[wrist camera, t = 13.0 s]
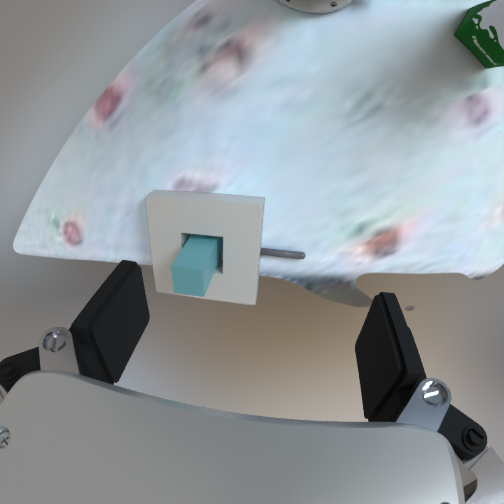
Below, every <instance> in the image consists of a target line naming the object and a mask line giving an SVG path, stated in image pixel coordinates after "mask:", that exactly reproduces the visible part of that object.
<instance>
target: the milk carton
mask: <svg viewBox="0 0 504 504" xmlns="http://www.w3.org/2000/svg"><path fill="white" fill-rule="evenodd" d="M454 35H455V36H456V37H457V38H458V39H459V40H460V41H461V42H462V43H463V44H464V45H465V46H466V47H467V48H468V49H469V50H470V51H471V52H472V53H473V54H474V56H475V57H476V58H477V59H478V60H479V61H480V62H481V63H482V64H483V65H484V67H485V68H486V69H487V68H493V67H500V66H504V0H490V1H487V2H484V3H481V4H478V5H476V6H474V7H472V8H470V9H469V11H468V12H467V14H466V16H465V17H464V19H463V21H462V23H461V24H460V26H459V28H458V29H457V31H456V33H455V34H454Z"/></svg>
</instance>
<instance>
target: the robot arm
mask: <svg viewBox="0 0 504 504" xmlns="http://www.w3.org/2000/svg"><path fill="white" fill-rule="evenodd" d="M278 1H279V2H280V3H282V4H284V5H286V6H288V7H290V8H292V9H295V10H298V11H301V12H307V13H317V14H321V13H330V12H334V11H338V10H340V9H343V8H345V7H346V6H348V5H349V4H351V3H352V2H353V0H290V2H287V1H286V0H278ZM331 5H334V6H335V7H332V6H331ZM149 317H150V316H149V310H148V305H147V300H146V294H145V289H144V283H143V277H142V271H141V267H140V266H138V265H137V263H136V262H134V261H128V260H122V261H121V262H120V263H119V265H118V266H117V267H116V268H115V269H114V271H113V272H112V273H111V274H110V275H109V277H108V278H107V279H106V281H105V282H104V283H103V284H102V285H101V287H100V288H99V289H98V290H97V292H96V293H95V294H94V295H93V297H92V298H91V299H90V301H89V302H88V303H87V304H86V306H85V307H84V308H83V310H82V311H81V313H80V314H79V315H78V316H77V318H76V319H75V320H74V322H73V323H72V325H71V327H70V329H69V330H68V329H66V328H63V327H55V328H52V329H49V330H48V331H46V332H45V333H44V334H43V335H42V336H41V338H40V340H39V347H37V348H34V349H31V350H28V351H25V352H22V353H19V354H16V355H13V356H10V357H7V358H5V359H3V360H2V361H1V362H0V504H502V503H503V502H504V463H503V462H502V460H501V459H500V458H499V456H498V455H497V454H496V453H495V451H494V450H493V448H492V447H490V448H488V447H487V446H486V445H487V435H486V432H485V431H484V429H483V428H482V427H481V426H480V425H479V424H478V423H476V422H474V421H473V420H472V419H471V418H469V417H468V416H466V415H465V414H464V413H462V412H461V411H459V410H458V409H457V408H455V407H454V406H452V405H451V404H450V402H451V393H450V390H449V388H448V387H447V386H446V384H444V383H443V382H442V381H440V380H438V379H435V378H426V374H425V371H424V368H423V365H422V362H421V358H420V355H419V353H418V349H417V347H416V344H415V341H414V338H413V335H412V333H411V330H410V328H409V327H408V326H407V324H406V321H405V318H404V316H403V313H402V310H401V308H400V305H399V303H398V300H397V298H396V295H395V294H394V293H386V292H381V293H380V294H379V295H376V296H375V297H374V299H373V302H372V304H371V307H370V310H369V312H368V315H367V317H366V320H365V322H364V324H363V327H362V330H361V332H360V334H359V336H358V339H357V341H356V344H355V352H356V359H357V365H358V372H359V379H360V386H361V394H362V401H363V410H364V417H365V418H366V419H368V422H337V421H311V420H309V421H308V420H294V419H283V418H273V417H263V416H255V415H247V414H240V413H234V412H227V411H221V410H215V409H210V408H204V407H199V406H194V405H189V404H185V403H180V402H176V401H171V400H167V399H163V398H159V397H154V396H151V395H147V394H143V393H140V392H136V391H133V390H129V389H126V388H122V387H119V386H115V385H113V384H114V382H115V383H117V382H118V381H119V379H120V377H121V375H122V373H123V371H124V369H125V367H126V365H127V362H128V361H129V359H130V357H131V355H132V353H133V351H134V349H135V347H136V345H137V343H138V342H139V340H140V338H141V336H142V334H143V332H144V330H145V328H146V326H147V324H148V322H149Z"/></svg>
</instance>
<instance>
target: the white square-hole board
mask: <svg viewBox="0 0 504 504" xmlns="http://www.w3.org/2000/svg"><path fill="white" fill-rule="evenodd" d="M264 203H265V198H264V197H253V196H242V195H229V194H216V193H202V192H185V191H167V190H153V191H152V192H151V193H150V194H148V195H147V196H146V209H147V220H148V230H149V239H150V248H151V256H152V264H153V271H154V278H155V285H156V291H157V292H161V293H168V294H175V295H182V296H188V297H195V298H202V299H210V300H217V301H225V302H233V303H241V304H250V305H255V304H256V298H257V291H258V279H259V266H260V255H267V256H277V257H286V258H296V259H304V258H305V253H303V252H295V251H286V250H276V249H267V248H261V241H262V229H263V216H264ZM188 233H189V234H200V235H210V236H220V237H223V263H218V264H217V267H216V269H215V272H214V274H213V277H212V279H211V282H210V284H209V286H208V289H207V291H206V294H205V296H204V297H200V296H192V295H185V294H178V293H174V289H173V281H172V273H171V265H172V264H173V262H174V260H175V259H176V257H177V256H178V254H179V253H180V251H181V250H182V248H183V247H184V245H185V244H186V242H187V241H188Z"/></svg>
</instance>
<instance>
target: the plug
mask: <svg viewBox="0 0 504 504" xmlns="http://www.w3.org/2000/svg"><path fill="white" fill-rule="evenodd" d="M220 257H221V242H220V236H210V235H200V234H192V235H191V236H190V238H189V239H188V241H187V242H186V244H185V245H184V247H183V248H182V250H181V251H180V253H179V254H178V256H177V257H176V259H175V260H174V262H173V264H172V265H171V273H172V281H173V289H174V293H178V294H185V295H192V296H200V297H204V296H205V294H206V291H207V289H208V286H209V284H210V282H211V279H212V277H213V274H214V272H215V269H216V267H217V264H218V262H219V260H220Z"/></svg>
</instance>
